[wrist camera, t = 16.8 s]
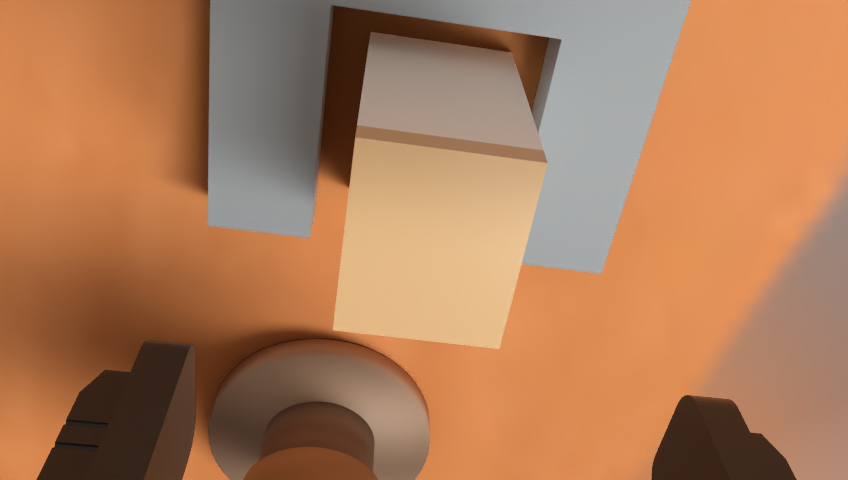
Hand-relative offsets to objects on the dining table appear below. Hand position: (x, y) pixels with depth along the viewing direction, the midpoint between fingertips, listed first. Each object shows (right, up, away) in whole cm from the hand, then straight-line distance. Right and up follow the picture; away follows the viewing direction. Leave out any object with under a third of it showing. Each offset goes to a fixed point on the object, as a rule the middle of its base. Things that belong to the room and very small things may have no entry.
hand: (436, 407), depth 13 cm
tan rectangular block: (0, +6, +10) cm, 12 cm away
